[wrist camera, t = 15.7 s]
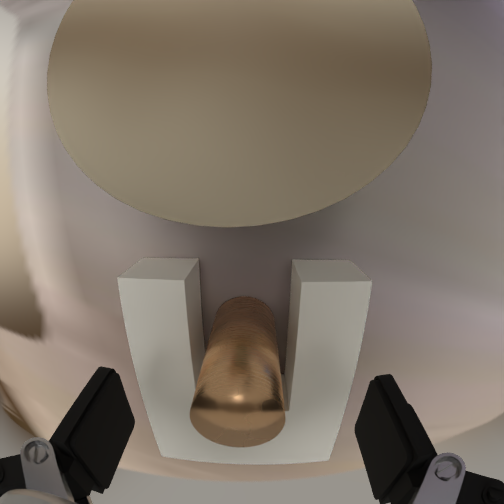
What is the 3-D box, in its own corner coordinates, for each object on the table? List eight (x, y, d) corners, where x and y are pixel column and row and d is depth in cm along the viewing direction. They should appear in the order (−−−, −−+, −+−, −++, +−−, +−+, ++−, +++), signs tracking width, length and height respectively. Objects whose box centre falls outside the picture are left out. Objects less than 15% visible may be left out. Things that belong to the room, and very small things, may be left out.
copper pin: (213, 295, 17) (184, 384, 9) (275, 296, 17) (289, 387, 9) (216, 347, 18) (195, 444, 10) (273, 348, 18) (282, 447, 10)
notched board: (143, 257, 16) (117, 277, 13) (349, 259, 16) (372, 281, 13) (171, 424, 20) (161, 456, 16) (321, 427, 20) (328, 460, 16)
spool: (169, 48, 13) (89, -55, 3) (326, 47, 13) (393, -65, 3) (164, 196, 15) (41, 230, 5) (328, 197, 15) (435, 233, 5)
